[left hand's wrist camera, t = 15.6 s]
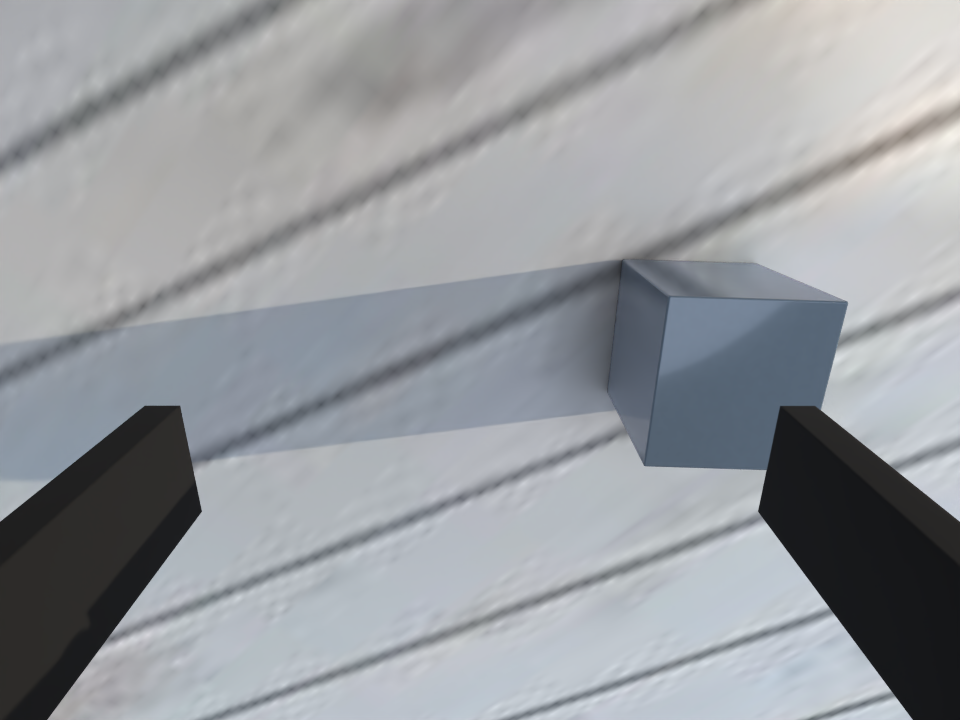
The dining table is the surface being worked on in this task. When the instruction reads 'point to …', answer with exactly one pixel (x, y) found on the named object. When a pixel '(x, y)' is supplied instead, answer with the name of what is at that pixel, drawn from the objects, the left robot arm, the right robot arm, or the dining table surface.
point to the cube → (716, 358)
